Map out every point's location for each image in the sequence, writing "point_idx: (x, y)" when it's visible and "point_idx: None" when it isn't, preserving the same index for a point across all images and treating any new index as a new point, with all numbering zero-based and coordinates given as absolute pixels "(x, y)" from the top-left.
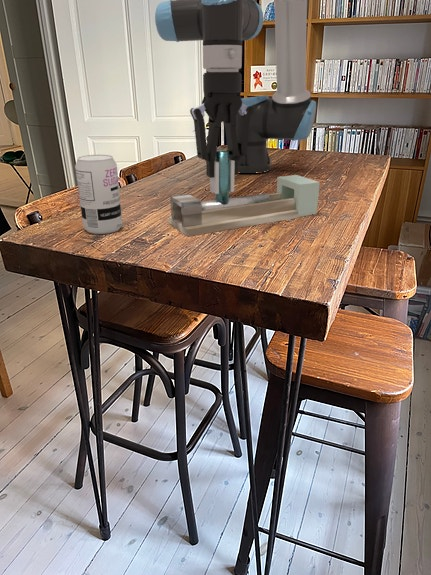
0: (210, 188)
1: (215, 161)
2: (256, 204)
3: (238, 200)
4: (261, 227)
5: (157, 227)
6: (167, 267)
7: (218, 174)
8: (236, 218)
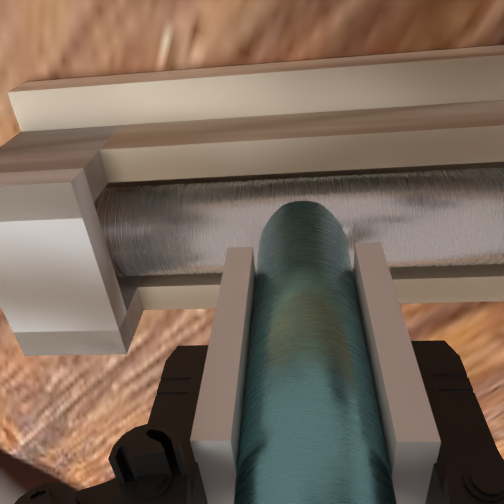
0: (226, 264)
1: (229, 486)
2: (483, 296)
3: (403, 265)
4: (424, 304)
5: None
6: (11, 439)
7: None
8: None
